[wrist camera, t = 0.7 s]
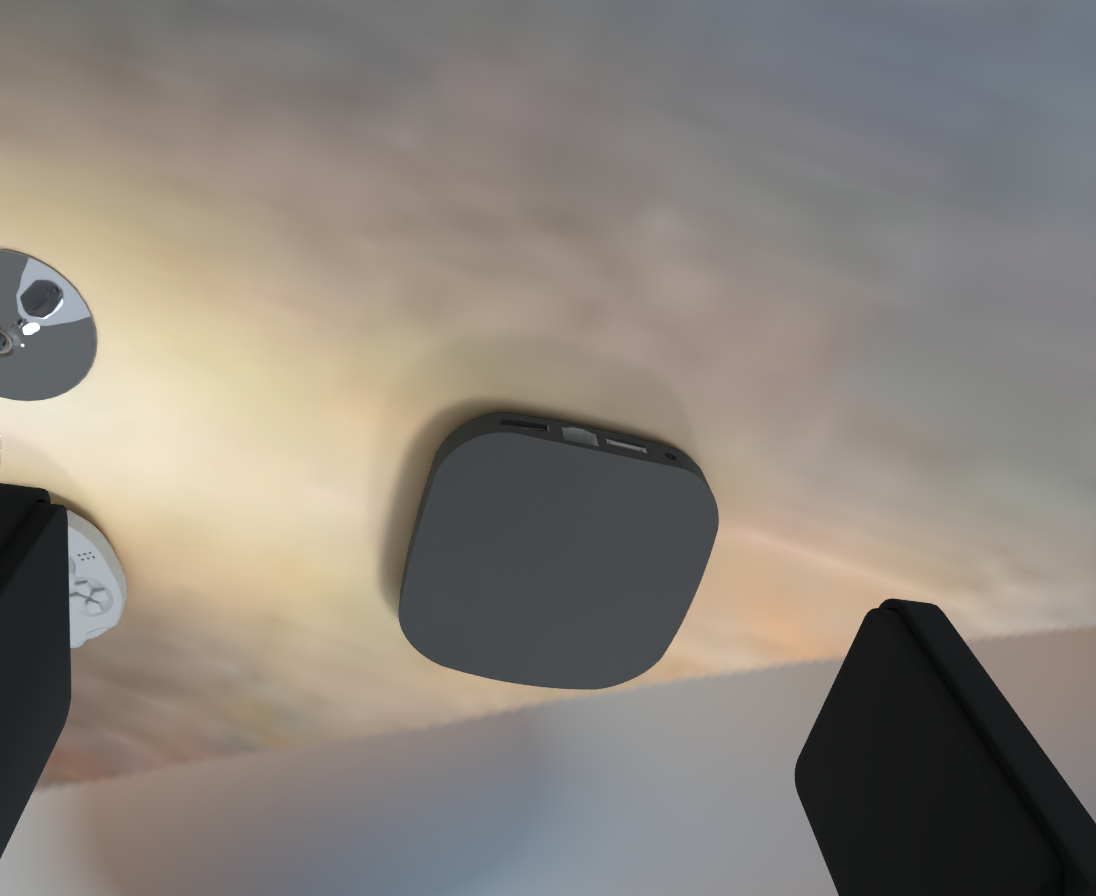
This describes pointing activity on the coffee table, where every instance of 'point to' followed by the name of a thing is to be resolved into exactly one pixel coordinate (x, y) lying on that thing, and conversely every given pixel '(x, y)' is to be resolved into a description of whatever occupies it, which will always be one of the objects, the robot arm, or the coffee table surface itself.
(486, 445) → the media streaming box
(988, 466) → the coffee table surface
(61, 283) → the wine glass
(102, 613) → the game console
